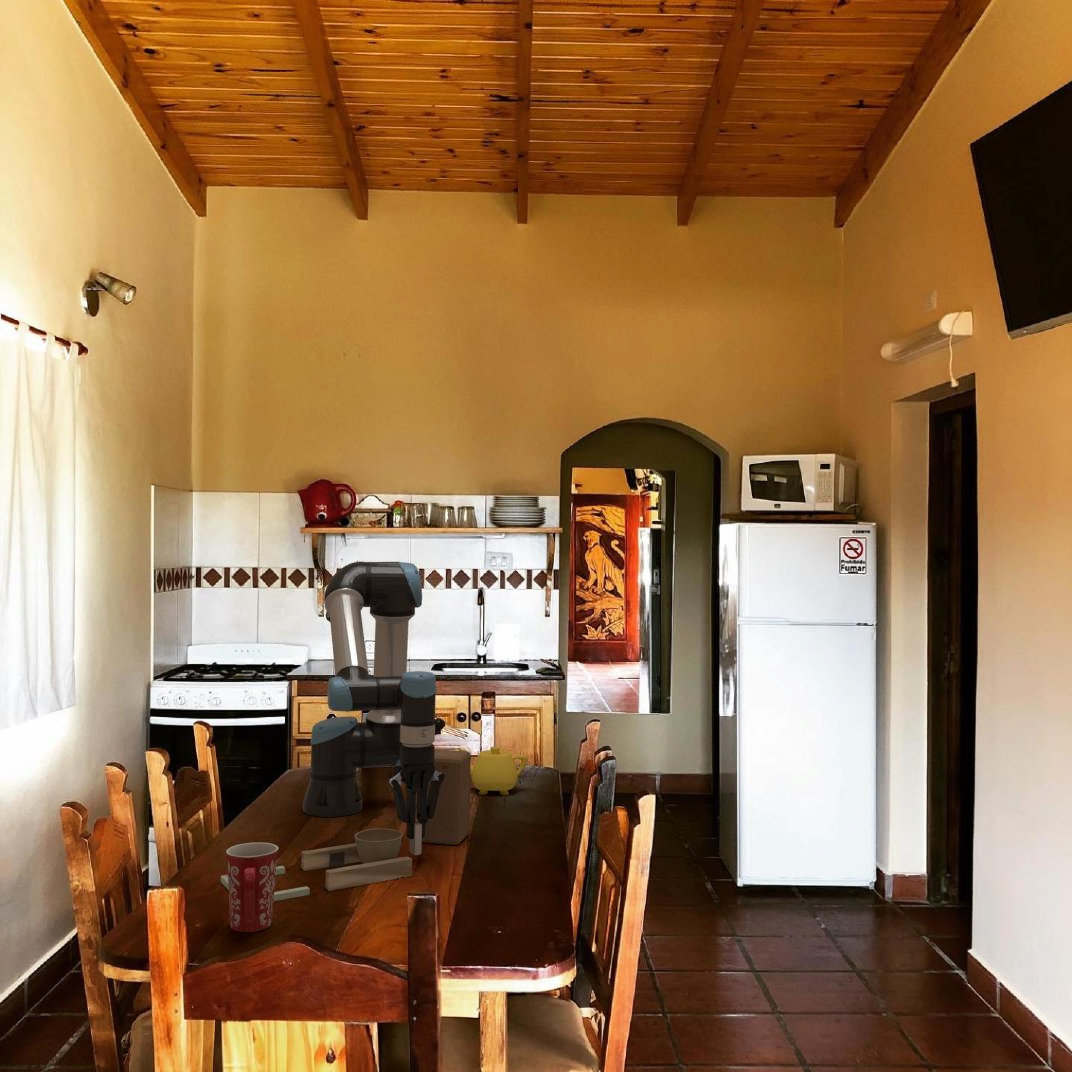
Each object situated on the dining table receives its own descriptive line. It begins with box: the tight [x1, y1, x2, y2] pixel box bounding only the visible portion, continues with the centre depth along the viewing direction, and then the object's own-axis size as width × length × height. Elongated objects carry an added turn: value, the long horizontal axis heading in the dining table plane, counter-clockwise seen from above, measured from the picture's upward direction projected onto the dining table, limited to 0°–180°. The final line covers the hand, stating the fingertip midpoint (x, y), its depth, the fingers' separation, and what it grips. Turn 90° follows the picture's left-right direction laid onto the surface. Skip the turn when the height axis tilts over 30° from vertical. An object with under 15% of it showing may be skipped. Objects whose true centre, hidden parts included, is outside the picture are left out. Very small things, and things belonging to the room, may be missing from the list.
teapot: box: [457, 746, 529, 796], centre depth 276 cm, size 13×20×12 cm
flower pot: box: [354, 828, 403, 864], centre depth 207 cm, size 10×10×7 cm
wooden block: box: [421, 748, 472, 846], centre depth 229 cm, size 10×10×20 cm
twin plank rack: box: [300, 842, 413, 892], centre depth 204 cm, size 16×18×4 cm
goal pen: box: [220, 865, 311, 902], centre depth 194 cm, size 16×13×1 cm
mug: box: [225, 841, 279, 933], centre depth 173 cm, size 13×9×14 cm
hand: (415, 852), depth 212 cm, fingers closed
